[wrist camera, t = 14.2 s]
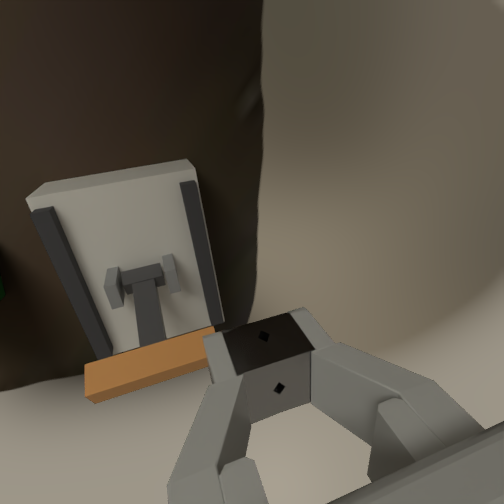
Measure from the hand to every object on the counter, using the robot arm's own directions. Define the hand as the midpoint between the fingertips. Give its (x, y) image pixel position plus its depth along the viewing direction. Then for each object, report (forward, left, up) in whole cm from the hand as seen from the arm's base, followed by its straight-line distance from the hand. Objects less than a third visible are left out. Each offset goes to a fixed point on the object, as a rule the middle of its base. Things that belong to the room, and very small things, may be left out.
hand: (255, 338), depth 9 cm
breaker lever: (+8, -5, -21) cm, 23 cm away
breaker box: (+8, -5, -29) cm, 30 cm away
